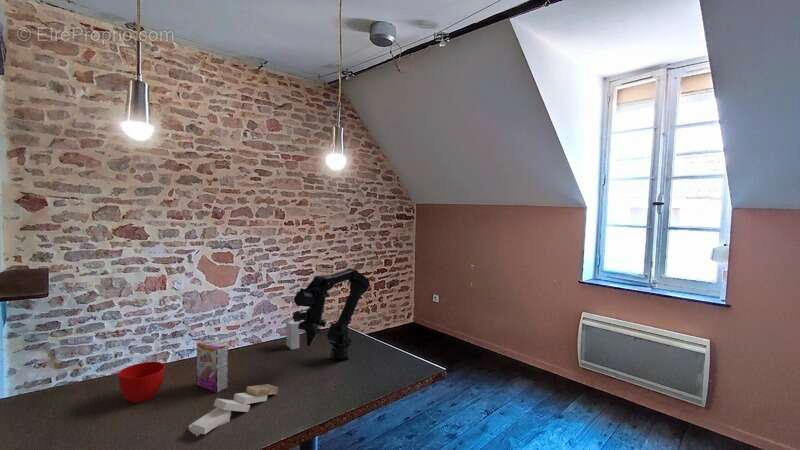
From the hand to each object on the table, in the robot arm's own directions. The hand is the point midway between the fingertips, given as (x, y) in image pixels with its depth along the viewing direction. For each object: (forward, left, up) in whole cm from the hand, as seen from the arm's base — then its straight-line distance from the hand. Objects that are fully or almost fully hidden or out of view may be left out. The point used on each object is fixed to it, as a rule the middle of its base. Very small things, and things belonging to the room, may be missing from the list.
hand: (308, 345), depth 148 cm
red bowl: (+55, -16, -12) cm, 58 cm away
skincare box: (-5, -29, -12) cm, 32 cm away
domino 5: (+17, +7, -10) cm, 21 cm away
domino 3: (+28, +12, -10) cm, 32 cm away
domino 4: (+21, +9, -10) cm, 25 cm away
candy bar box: (+34, -9, -12) cm, 37 cm away
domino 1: (+35, +14, -9) cm, 38 cm away
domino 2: (+34, +14, -11) cm, 39 cm away
